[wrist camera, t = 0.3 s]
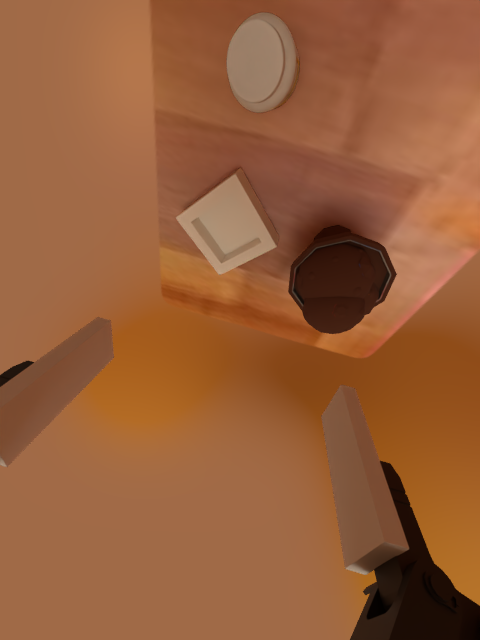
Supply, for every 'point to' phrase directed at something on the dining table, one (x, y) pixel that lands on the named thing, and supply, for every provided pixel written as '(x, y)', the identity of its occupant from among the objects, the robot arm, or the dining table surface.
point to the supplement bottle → (262, 63)
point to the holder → (229, 224)
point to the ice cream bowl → (340, 279)
